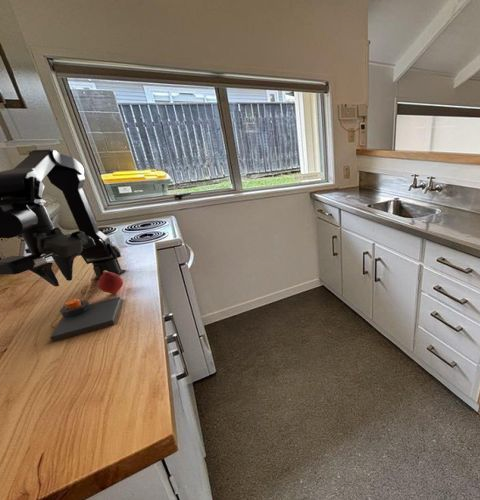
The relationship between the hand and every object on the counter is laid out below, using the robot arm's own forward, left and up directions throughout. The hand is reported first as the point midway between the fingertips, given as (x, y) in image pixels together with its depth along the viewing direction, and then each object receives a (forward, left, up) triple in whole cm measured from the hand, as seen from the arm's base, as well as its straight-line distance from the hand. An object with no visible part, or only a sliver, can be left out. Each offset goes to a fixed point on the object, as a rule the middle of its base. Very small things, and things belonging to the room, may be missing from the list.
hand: (63, 283), depth 74 cm
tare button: (0, 0, -7) cm, 7 cm away
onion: (-12, -1, -10) cm, 15 cm away
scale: (+1, +5, -10) cm, 11 cm away
